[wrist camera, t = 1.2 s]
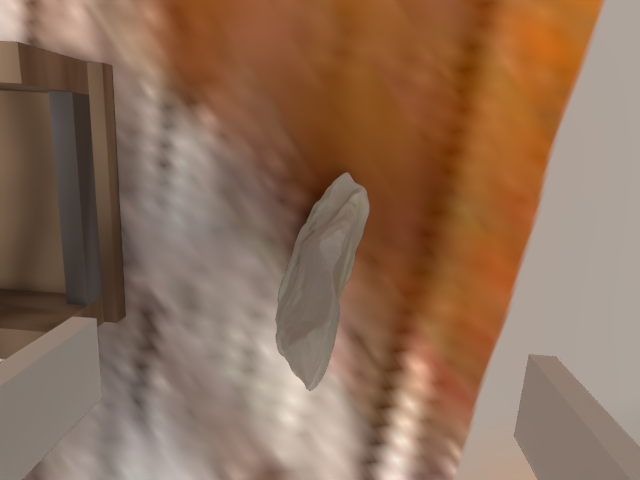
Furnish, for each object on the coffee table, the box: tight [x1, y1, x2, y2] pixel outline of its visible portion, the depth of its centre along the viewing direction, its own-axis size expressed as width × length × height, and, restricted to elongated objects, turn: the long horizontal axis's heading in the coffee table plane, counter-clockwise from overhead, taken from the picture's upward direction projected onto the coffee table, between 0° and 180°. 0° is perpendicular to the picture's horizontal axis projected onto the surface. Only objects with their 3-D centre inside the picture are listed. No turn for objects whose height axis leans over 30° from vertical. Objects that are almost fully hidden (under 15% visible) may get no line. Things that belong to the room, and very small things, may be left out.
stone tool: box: [275, 172, 369, 391], centre depth 23 cm, size 11×4×15 cm, turn 165°
